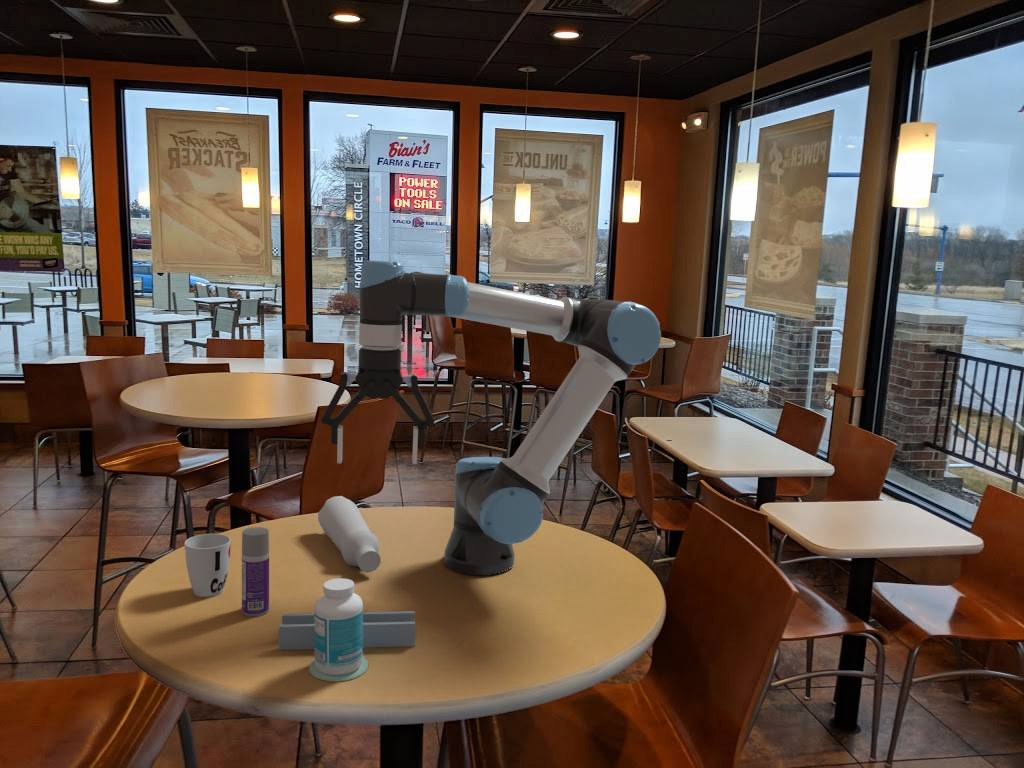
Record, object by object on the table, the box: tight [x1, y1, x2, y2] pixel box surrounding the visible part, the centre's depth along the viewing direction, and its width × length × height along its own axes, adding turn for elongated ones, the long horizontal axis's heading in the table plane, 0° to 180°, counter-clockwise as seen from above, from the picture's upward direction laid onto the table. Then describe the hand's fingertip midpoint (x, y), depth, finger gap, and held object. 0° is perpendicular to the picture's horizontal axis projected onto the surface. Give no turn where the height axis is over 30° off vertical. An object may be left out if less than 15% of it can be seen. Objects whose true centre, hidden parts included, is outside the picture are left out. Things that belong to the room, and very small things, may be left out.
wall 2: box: [281, 610, 416, 625], centre depth 134 cm, size 22×1×4 cm, turn 99°
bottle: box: [317, 495, 381, 573], centre depth 172 cm, size 9×9×30 cm
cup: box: [184, 533, 232, 598], centre depth 149 cm, size 8×8×10 cm
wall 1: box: [278, 621, 416, 651], centre depth 130 cm, size 22×1×4 cm, turn 99°
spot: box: [309, 656, 369, 683], centre depth 124 cm, size 9×9×1 cm
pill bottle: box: [313, 578, 364, 675], centre depth 123 cm, size 8×7×14 cm
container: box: [241, 526, 270, 618], centre depth 141 cm, size 5×5×15 cm
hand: (377, 462), depth 146 cm, fingers open, 13 cm apart
